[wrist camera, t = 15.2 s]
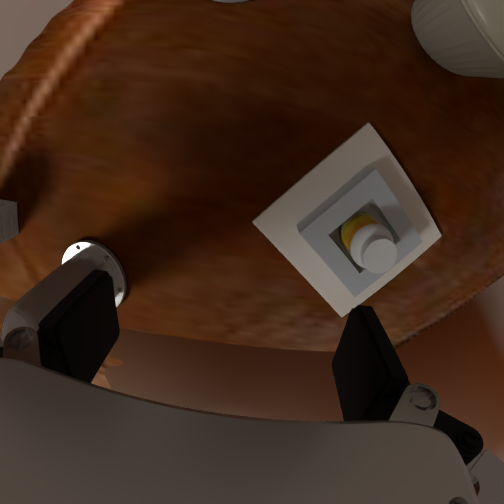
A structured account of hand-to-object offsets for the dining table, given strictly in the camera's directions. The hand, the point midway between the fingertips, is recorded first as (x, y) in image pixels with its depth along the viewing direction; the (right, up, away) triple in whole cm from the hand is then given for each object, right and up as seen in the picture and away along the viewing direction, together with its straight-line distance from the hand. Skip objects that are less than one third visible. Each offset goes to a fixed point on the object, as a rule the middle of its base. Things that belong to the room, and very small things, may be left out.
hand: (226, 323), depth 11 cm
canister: (+29, +34, +16) cm, 47 cm away
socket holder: (+15, +6, +27) cm, 32 cm away
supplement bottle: (+15, +6, +27) cm, 31 cm away
